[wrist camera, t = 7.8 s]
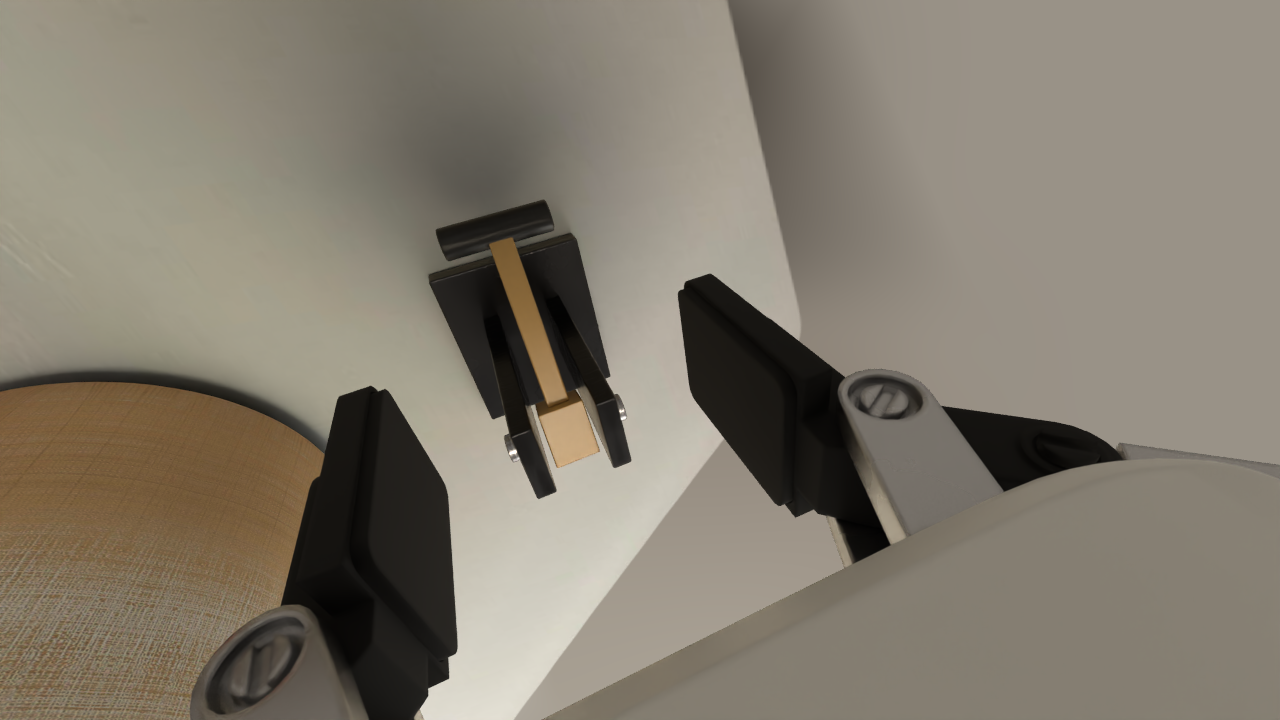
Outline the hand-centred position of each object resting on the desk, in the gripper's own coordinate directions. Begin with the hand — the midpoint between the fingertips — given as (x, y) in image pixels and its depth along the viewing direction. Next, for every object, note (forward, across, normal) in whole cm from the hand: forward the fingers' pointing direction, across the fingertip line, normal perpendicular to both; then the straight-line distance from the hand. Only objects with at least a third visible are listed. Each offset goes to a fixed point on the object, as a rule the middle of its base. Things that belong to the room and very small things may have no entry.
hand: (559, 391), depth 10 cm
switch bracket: (+22, 0, +10) cm, 24 cm away
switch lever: (+13, 0, +6) cm, 15 cm away
